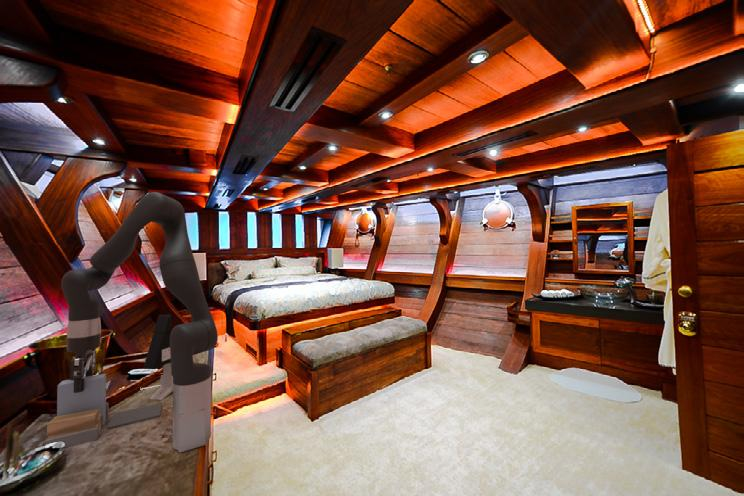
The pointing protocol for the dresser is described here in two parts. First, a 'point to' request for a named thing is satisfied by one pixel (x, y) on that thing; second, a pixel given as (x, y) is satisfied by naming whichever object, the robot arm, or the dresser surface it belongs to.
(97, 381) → the sheet
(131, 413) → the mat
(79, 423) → the offcut upper
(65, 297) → the robot arm
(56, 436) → the offcut lower
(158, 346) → the award
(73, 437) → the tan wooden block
